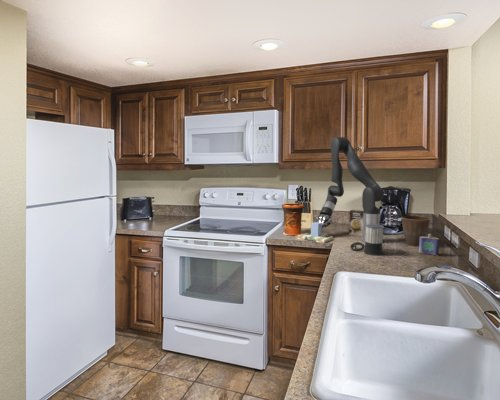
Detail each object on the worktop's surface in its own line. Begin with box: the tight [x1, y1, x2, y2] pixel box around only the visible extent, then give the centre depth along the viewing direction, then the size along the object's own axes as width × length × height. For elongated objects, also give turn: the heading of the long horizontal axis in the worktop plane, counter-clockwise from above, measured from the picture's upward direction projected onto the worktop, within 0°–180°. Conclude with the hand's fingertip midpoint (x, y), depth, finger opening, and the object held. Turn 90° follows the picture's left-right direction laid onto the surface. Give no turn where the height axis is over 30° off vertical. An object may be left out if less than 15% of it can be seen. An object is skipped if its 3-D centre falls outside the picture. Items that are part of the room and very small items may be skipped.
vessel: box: [281, 202, 304, 236], centre depth 231 cm, size 14×14×20 cm
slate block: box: [310, 221, 323, 237], centre depth 216 cm, size 5×5×8 cm
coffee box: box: [348, 209, 364, 237], centre depth 228 cm, size 9×6×16 cm
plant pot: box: [401, 215, 431, 247], centre depth 200 cm, size 15×15×16 cm
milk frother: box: [349, 224, 385, 256], centre depth 184 cm, size 14×16×15 cm
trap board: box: [297, 232, 334, 244], centre depth 215 cm, size 18×12×2 cm, turn 52°
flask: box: [418, 233, 440, 256], centre depth 180 cm, size 9×3×11 cm, turn 55°
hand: (318, 231), depth 218 cm, fingers closed
